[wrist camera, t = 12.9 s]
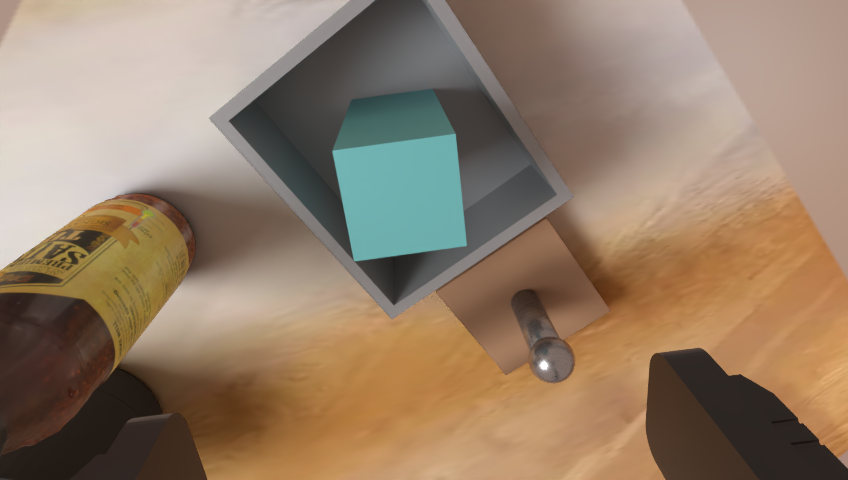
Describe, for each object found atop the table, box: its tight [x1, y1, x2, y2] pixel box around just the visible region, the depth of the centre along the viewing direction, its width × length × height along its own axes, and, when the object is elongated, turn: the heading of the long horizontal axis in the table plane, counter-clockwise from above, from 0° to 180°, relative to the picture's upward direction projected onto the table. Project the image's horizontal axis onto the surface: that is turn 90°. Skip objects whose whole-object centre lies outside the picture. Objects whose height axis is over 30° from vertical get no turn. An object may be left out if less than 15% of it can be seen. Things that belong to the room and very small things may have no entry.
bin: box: [209, 0, 574, 319], centre depth 28 cm, size 13×11×6 cm
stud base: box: [436, 217, 610, 375], centre depth 35 cm, size 8×8×2 cm
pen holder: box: [0, 368, 162, 480], centre depth 33 cm, size 9×9×10 cm
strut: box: [332, 89, 467, 261], centre depth 25 cm, size 4×4×11 cm
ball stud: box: [511, 289, 575, 383], centre depth 31 cm, size 2×2×7 cm
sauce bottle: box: [0, 194, 195, 456], centre depth 23 cm, size 6×6×20 cm
